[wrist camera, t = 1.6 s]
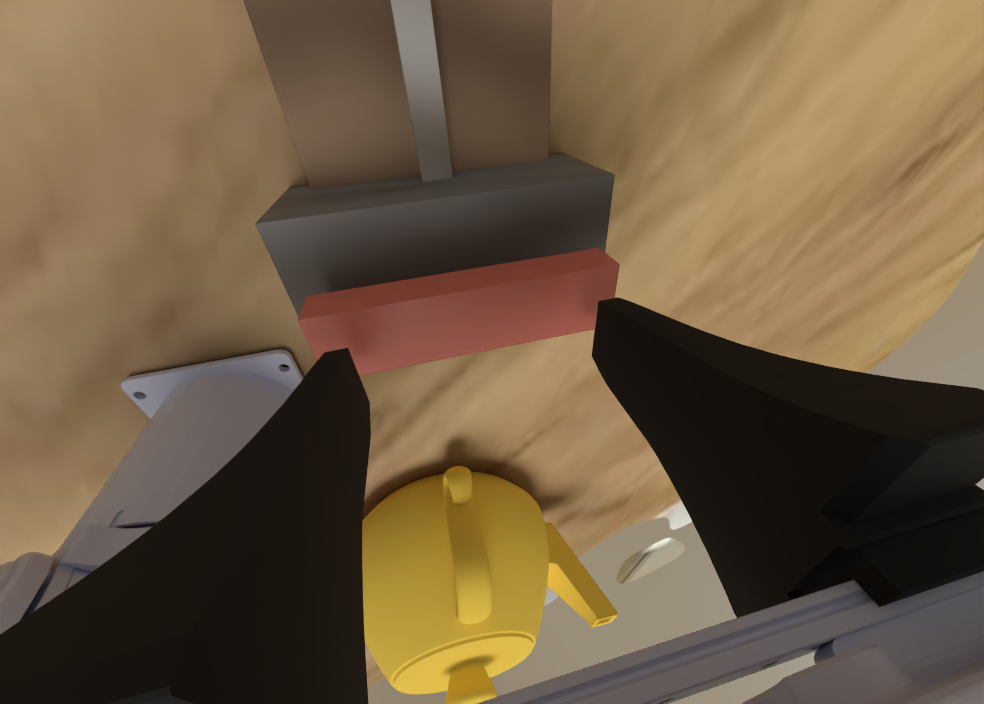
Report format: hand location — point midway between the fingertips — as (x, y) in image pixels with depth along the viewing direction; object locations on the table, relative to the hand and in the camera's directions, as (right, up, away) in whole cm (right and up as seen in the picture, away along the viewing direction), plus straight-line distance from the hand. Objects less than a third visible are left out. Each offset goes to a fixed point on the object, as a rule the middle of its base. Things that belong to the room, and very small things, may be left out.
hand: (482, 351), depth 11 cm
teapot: (-2, -14, +22) cm, 26 cm away
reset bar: (-1, +2, +2) cm, 3 cm away
